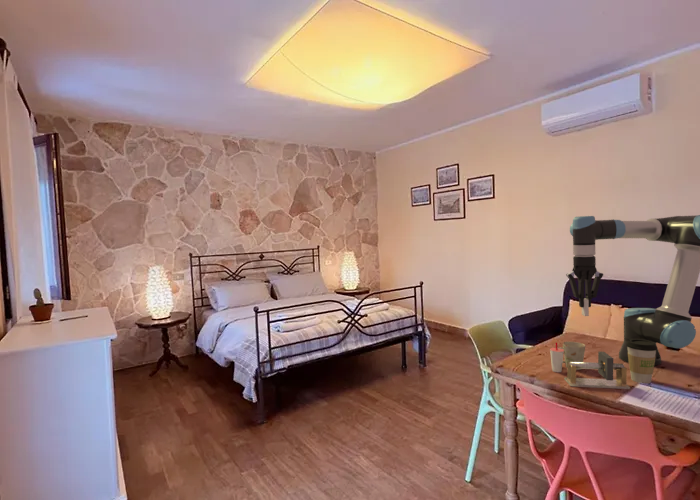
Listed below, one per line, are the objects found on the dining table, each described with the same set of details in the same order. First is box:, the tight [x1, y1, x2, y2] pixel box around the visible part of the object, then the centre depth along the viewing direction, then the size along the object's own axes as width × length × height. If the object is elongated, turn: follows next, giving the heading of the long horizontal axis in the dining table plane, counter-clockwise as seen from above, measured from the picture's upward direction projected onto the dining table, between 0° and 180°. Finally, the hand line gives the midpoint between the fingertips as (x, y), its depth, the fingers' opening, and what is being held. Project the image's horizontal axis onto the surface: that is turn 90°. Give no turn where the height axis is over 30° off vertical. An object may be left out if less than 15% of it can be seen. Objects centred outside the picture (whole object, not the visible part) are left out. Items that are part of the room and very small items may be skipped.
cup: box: [549, 342, 564, 373], centre depth 167 cm, size 5×5×12 cm
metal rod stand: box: [563, 361, 631, 390], centre depth 152 cm, size 20×7×8 cm, turn 79°
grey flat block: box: [597, 351, 614, 381], centre depth 152 cm, size 2×8×8 cm, turn 169°
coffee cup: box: [626, 339, 659, 384], centre depth 155 cm, size 10×10×15 cm
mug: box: [558, 341, 586, 371], centre depth 171 cm, size 8×13×10 cm, turn 78°
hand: (585, 315), depth 159 cm, fingers closed
